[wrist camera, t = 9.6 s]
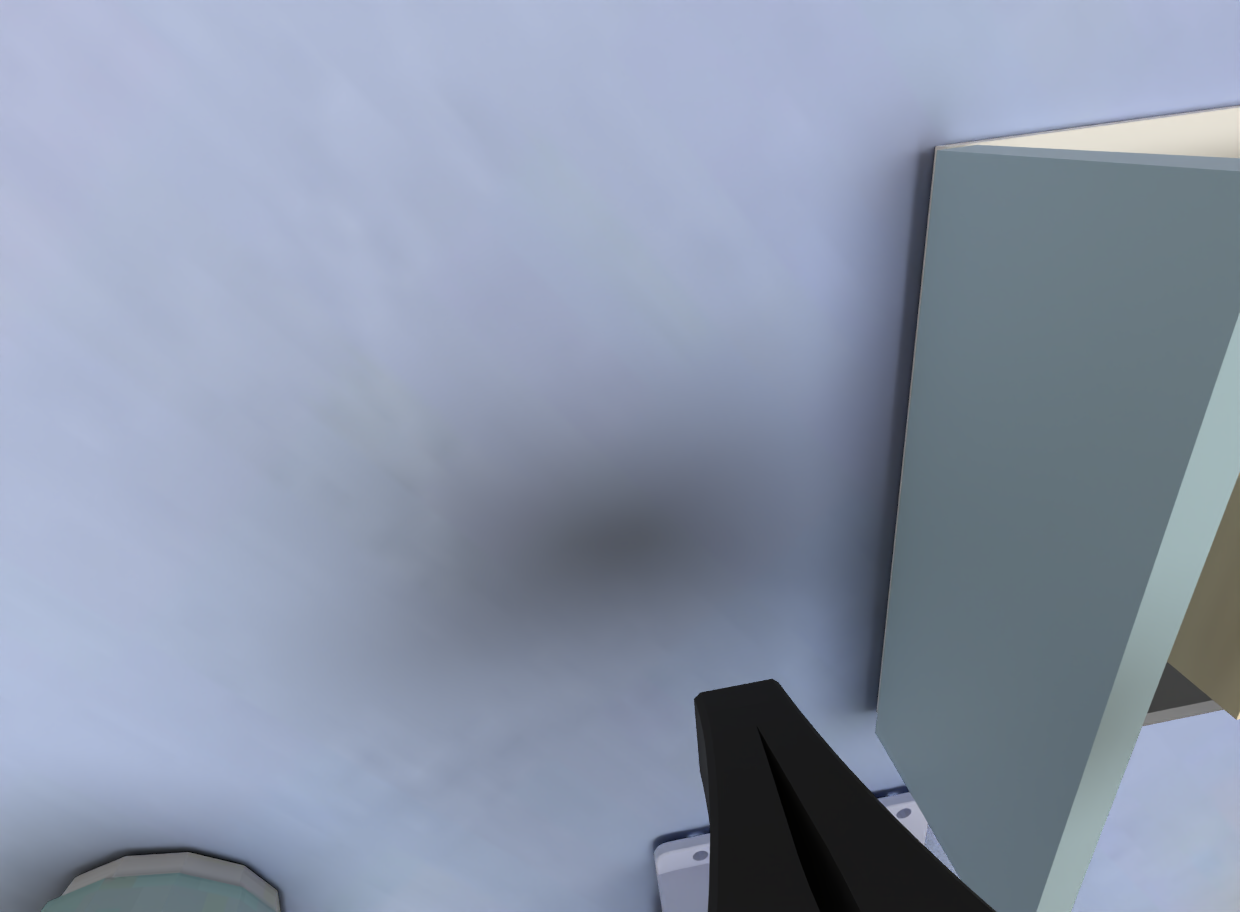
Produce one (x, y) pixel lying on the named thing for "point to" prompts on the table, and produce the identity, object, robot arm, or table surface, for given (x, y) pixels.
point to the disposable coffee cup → (167, 887)
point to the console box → (1168, 134)
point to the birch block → (1215, 618)
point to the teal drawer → (1056, 494)
